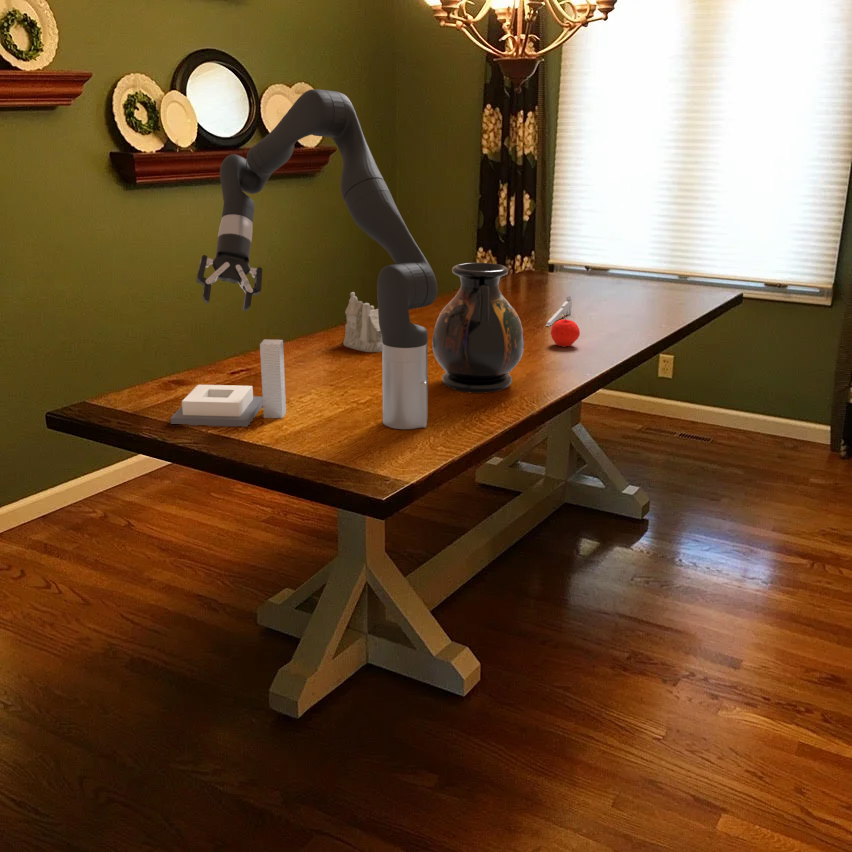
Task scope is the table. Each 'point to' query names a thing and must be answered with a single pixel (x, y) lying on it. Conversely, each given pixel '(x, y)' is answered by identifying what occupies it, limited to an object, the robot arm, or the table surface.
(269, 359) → the steel peg
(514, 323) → the black painted vase
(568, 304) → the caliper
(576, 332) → the apple
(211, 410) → the socket block
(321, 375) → the table surface
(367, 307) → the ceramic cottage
